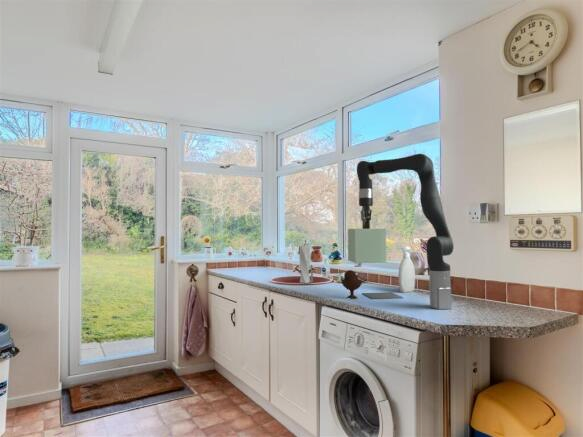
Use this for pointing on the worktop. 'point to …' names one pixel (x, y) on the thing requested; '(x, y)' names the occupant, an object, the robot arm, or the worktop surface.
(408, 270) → the soap bottle
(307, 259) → the white pillar candle
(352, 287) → the ice cream bowl
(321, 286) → the worktop surface
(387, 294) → the mat
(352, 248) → the cover
